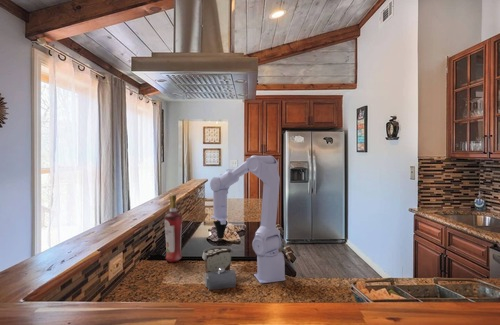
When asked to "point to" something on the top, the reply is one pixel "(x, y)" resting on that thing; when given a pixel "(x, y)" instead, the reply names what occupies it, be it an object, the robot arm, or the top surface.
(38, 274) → the top surface
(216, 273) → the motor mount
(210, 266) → the food container
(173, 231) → the liquor
